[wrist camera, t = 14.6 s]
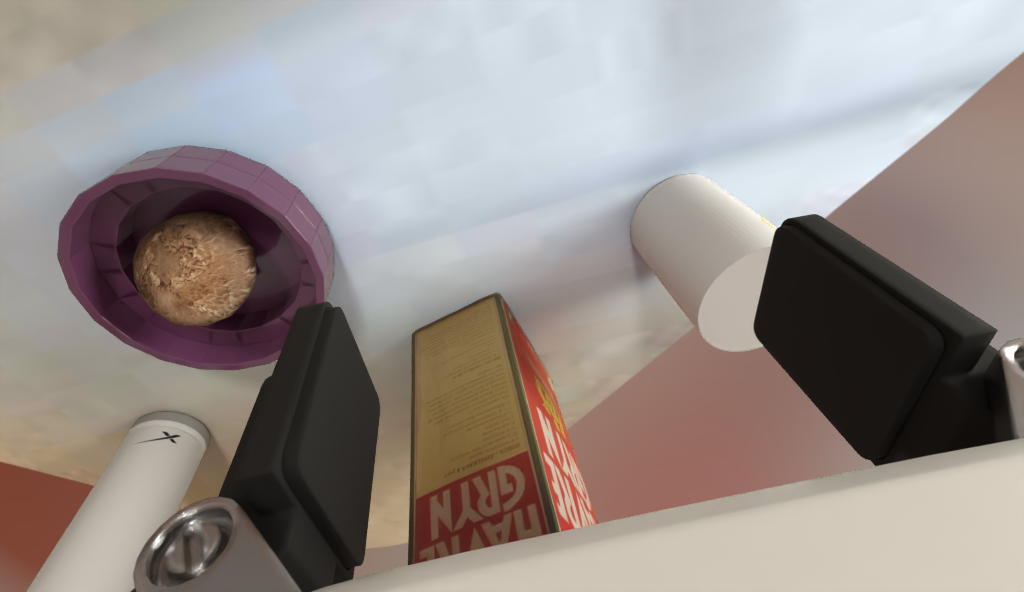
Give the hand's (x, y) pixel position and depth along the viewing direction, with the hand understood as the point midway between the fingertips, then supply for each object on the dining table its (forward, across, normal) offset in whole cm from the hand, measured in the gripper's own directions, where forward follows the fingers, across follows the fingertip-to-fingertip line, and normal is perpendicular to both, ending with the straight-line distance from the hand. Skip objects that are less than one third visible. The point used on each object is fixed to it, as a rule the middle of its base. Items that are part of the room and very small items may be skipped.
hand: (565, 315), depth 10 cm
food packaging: (+26, +3, +24) cm, 36 cm away
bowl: (+26, +20, +9) cm, 34 cm away
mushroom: (+25, +20, +8) cm, 34 cm away
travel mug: (+25, +33, +26) cm, 49 cm away
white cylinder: (+26, -15, +13) cm, 33 cm away
